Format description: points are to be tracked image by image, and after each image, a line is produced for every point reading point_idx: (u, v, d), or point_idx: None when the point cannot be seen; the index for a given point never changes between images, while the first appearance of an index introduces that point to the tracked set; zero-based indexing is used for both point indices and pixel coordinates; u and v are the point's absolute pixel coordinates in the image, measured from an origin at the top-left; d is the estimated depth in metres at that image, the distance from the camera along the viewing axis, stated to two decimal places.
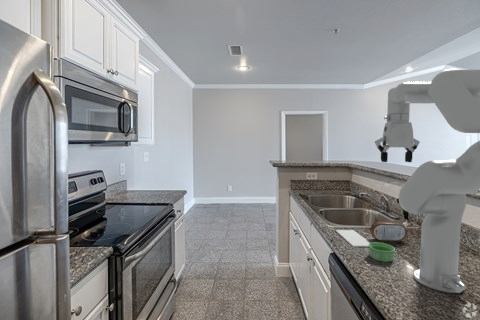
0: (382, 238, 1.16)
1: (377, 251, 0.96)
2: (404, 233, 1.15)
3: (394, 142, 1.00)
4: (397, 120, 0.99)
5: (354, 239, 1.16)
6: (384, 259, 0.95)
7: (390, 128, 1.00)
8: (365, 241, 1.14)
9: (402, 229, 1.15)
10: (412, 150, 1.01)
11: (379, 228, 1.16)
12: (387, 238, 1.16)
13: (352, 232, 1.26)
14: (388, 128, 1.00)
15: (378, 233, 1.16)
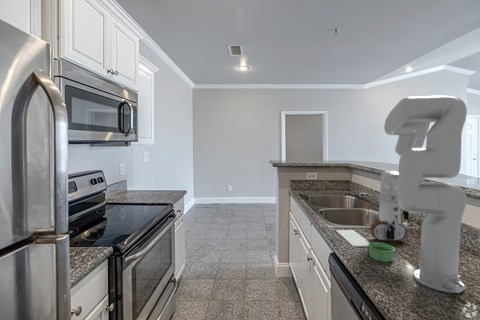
0: (382, 237, 1.16)
1: (377, 251, 0.96)
2: (404, 233, 1.15)
3: None
4: (399, 200, 1.14)
5: (354, 239, 1.16)
6: (384, 259, 0.95)
7: None
8: (365, 241, 1.14)
9: (401, 229, 1.15)
10: None
11: (379, 228, 1.16)
12: None
13: (352, 232, 1.26)
14: (399, 208, 1.11)
15: (378, 233, 1.16)
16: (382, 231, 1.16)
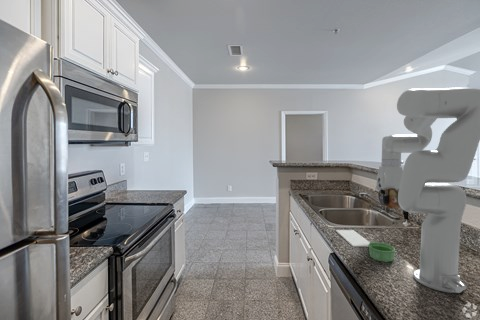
0: None
1: (377, 251, 0.96)
2: None
3: None
4: None
5: (354, 239, 1.16)
6: (384, 259, 0.95)
7: None
8: (365, 241, 1.14)
9: None
10: None
11: None
12: None
13: (352, 232, 1.26)
14: None
15: None
16: None
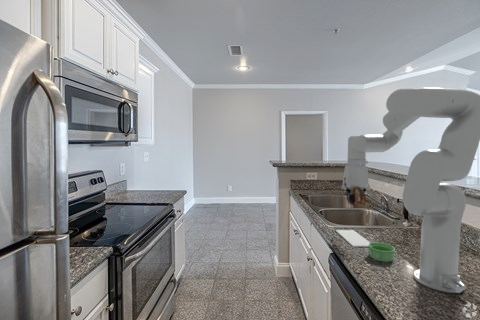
0: None
1: (377, 251, 0.96)
2: None
3: None
4: None
5: (354, 239, 1.16)
6: (384, 259, 0.95)
7: None
8: (365, 241, 1.14)
9: None
10: None
11: None
12: None
13: (352, 232, 1.26)
14: None
15: None
16: None
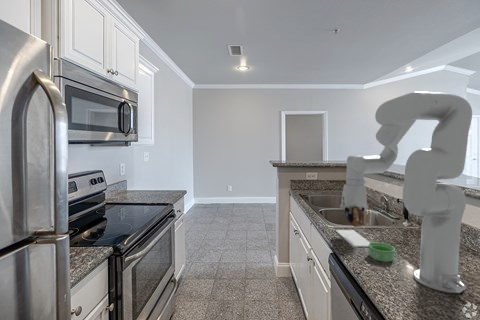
0: None
1: (377, 251, 0.96)
2: None
3: None
4: None
5: (354, 239, 1.16)
6: (384, 259, 0.95)
7: None
8: (365, 241, 1.14)
9: None
10: None
11: None
12: None
13: (352, 232, 1.26)
14: None
15: None
16: None
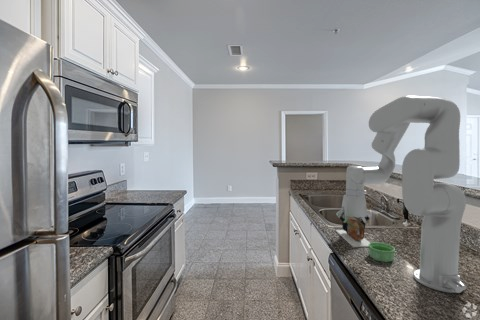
0: None
1: (377, 251, 0.96)
2: None
3: None
4: None
5: None
6: (384, 259, 0.95)
7: None
8: (365, 241, 1.14)
9: None
10: None
11: None
12: None
13: None
14: None
15: None
16: None
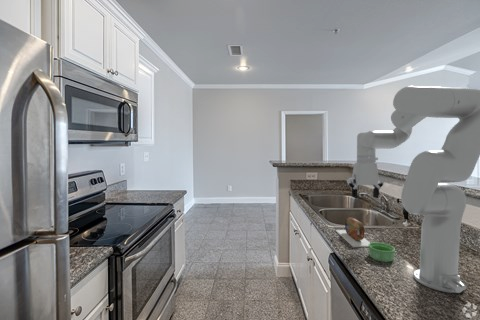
0: None
1: (377, 251, 0.96)
2: None
3: None
4: None
5: None
6: (384, 259, 0.95)
7: None
8: (365, 241, 1.14)
9: None
10: None
11: None
12: None
13: None
14: None
15: None
16: None
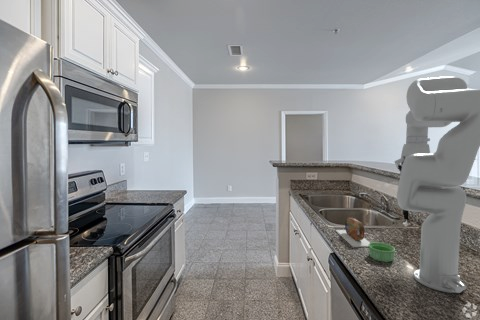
0: None
1: (377, 251, 0.96)
2: None
3: None
4: None
5: None
6: (384, 259, 0.95)
7: None
8: (365, 241, 1.14)
9: None
10: None
11: None
12: None
13: None
14: None
15: None
16: None
